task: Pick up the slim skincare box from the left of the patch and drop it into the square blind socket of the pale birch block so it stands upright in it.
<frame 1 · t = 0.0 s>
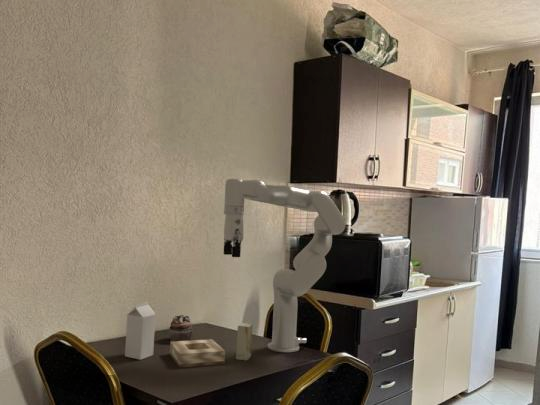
hand: (231, 255, 185), 37 cm above the table, tool pointing down, fingers open, 9 cm apart
socket block: (196, 358, 175), on the table
milk carton: (139, 356, 175), on the table
skincare box: (243, 358, 179), on the table
cupcake: (180, 341, 198), on the table
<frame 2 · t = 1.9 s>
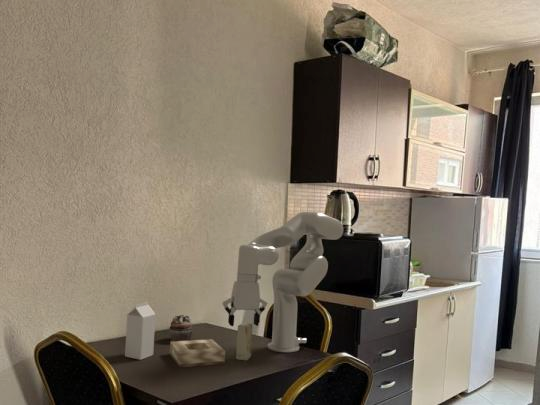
hand: (243, 325, 179), 12 cm above the table, tool pointing down, fingers open, 9 cm apart
nothing on the table moved.
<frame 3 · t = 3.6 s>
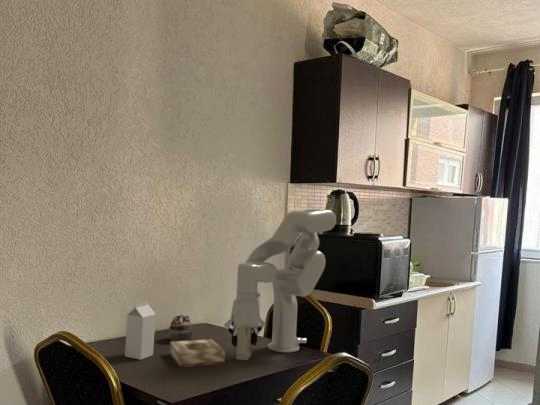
hand: (244, 344, 179), 5 cm above the table, tool pointing down, fingers closed on skincare box, 6 cm apart
skincare box: (243, 358, 179), on the table, touching gripper
everything else where it was.
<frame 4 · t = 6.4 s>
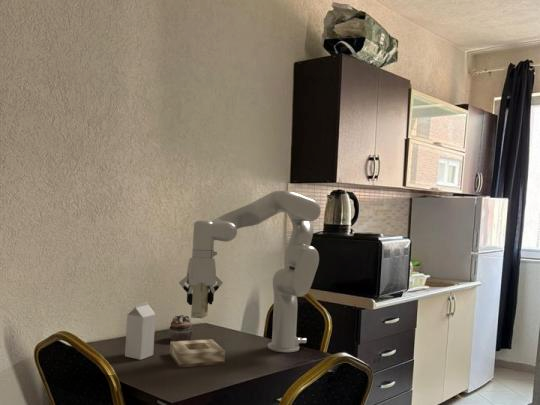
hand: (200, 303, 175), 20 cm above the table, tool pointing down, fingers closed on skincare box, 6 cm apart
skincare box: (199, 317, 175), point 15 cm above the table, touching gripper
everything else where it was.
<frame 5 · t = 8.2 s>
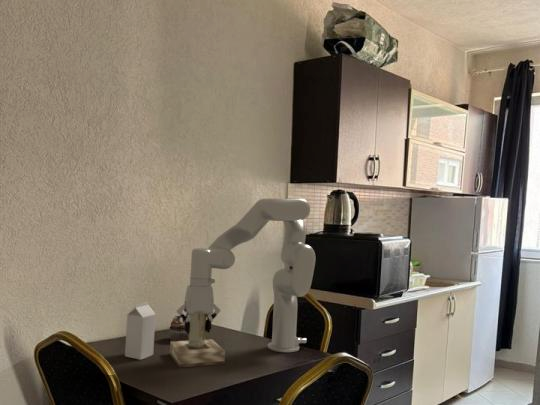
hand: (197, 331, 175), 10 cm above the table, tool pointing down, fingers closed on skincare box, 6 cm apart
skincare box: (196, 345, 175), point 5 cm above the table, touching gripper
everything else where it was.
when the fingers open (7 cm above the table, at t = 9.7 s): skincare box drops 1 cm, resting on socket block.
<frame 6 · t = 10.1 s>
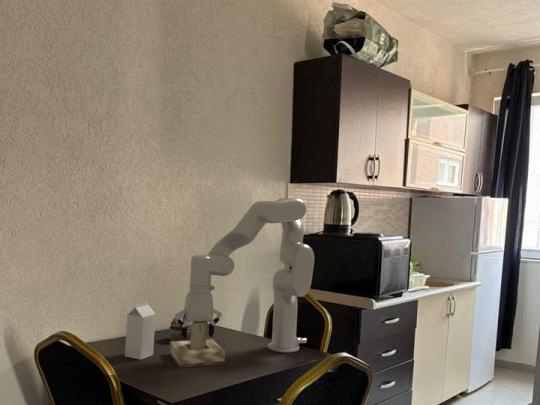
hand: (197, 337, 175), 8 cm above the table, tool pointing down, fingers open, 9 cm apart
skincare box: (197, 356, 175), point 1 cm above the table, touching socket block
everything else where it was.
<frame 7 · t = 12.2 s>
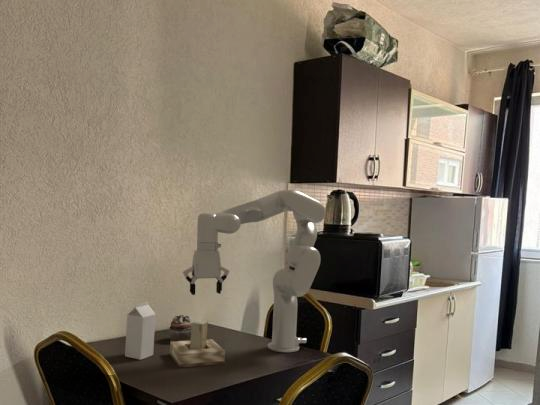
hand: (205, 293, 178), 23 cm above the table, tool pointing down, fingers open, 9 cm apart
nothing on the table moved.
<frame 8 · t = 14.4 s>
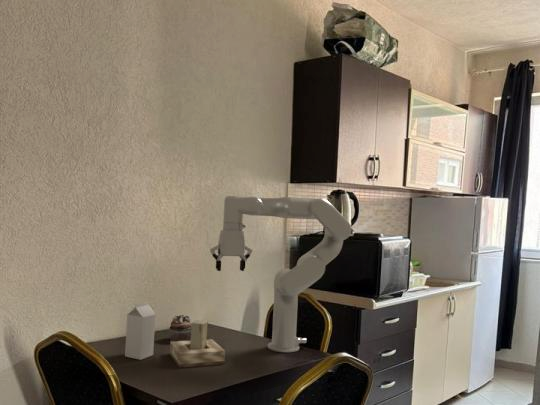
hand: (230, 270, 191), 30 cm above the table, tool pointing down, fingers open, 9 cm apart
nothing on the table moved.
at the end: skincare box 0.5 cm off-centre on the socket block, point 0.8 cm above the socket block's base; skincare box tilted 0°; the gripper is holding nothing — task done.
